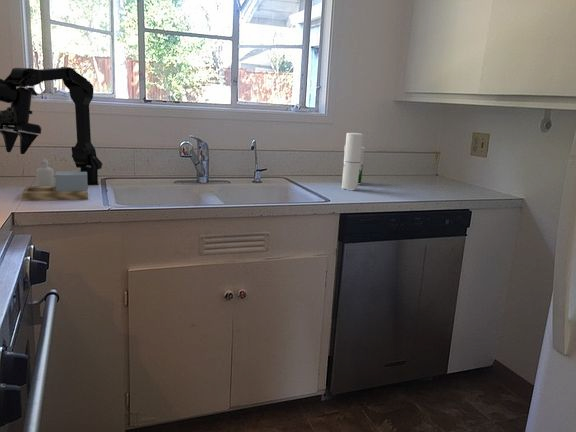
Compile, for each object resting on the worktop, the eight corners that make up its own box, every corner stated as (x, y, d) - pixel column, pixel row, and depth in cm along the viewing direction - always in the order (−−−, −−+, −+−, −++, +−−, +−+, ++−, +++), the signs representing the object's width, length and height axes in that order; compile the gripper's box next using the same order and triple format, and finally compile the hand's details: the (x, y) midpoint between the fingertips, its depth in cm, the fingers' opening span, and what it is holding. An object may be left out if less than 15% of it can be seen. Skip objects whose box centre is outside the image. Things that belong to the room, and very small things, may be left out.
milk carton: (339, 181, 241) (343, 140, 237) (356, 182, 244) (360, 141, 239) (345, 184, 233) (349, 142, 228) (363, 185, 235) (367, 143, 231)
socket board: (87, 192, 180) (87, 185, 179) (88, 199, 169) (87, 192, 169) (26, 193, 172) (25, 186, 172) (22, 200, 162) (22, 193, 161)
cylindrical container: (350, 191, 218) (355, 134, 212) (338, 188, 223) (343, 132, 217) (360, 190, 222) (366, 134, 216) (348, 187, 227) (354, 132, 221)
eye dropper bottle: (38, 188, 181) (36, 156, 178) (55, 188, 183) (53, 156, 180) (36, 191, 177) (34, 157, 174) (53, 191, 179) (52, 158, 176)
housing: (87, 187, 177) (86, 171, 176) (87, 190, 171) (87, 175, 170) (56, 187, 173) (56, 171, 172) (56, 191, 167) (55, 175, 166)
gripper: (-19, 100, 161) (-24, 147, 162) (9, 100, 150) (3, 151, 151) (15, 107, 170) (10, 152, 171) (44, 108, 160) (39, 156, 160)
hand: (15, 153), depth 163 cm, fingers open, 9 cm apart
